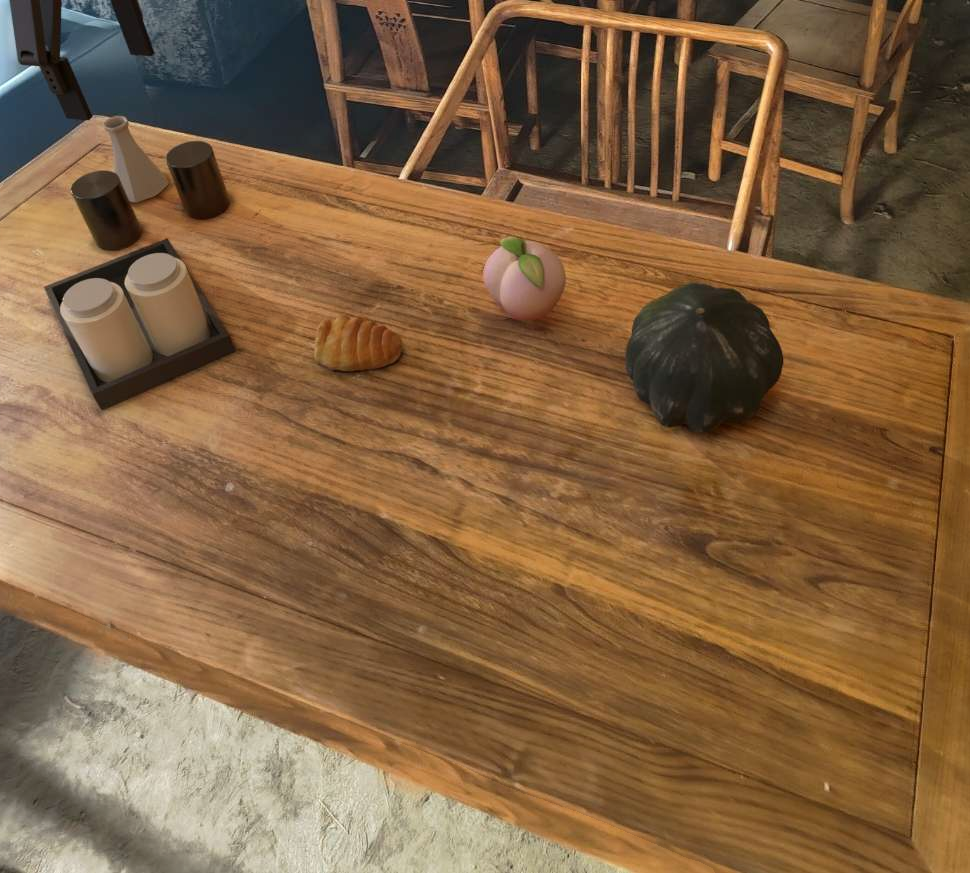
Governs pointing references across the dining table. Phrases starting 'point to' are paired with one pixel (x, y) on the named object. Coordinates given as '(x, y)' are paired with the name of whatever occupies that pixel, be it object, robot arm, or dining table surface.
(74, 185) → the dark brown cylinder
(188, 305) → the white shaker
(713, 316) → the squash
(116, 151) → the flask
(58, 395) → the dining table surface
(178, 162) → the dark brown cylinder
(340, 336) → the pastry
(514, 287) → the decorative fruit
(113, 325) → the cylinder
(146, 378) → the black tray
